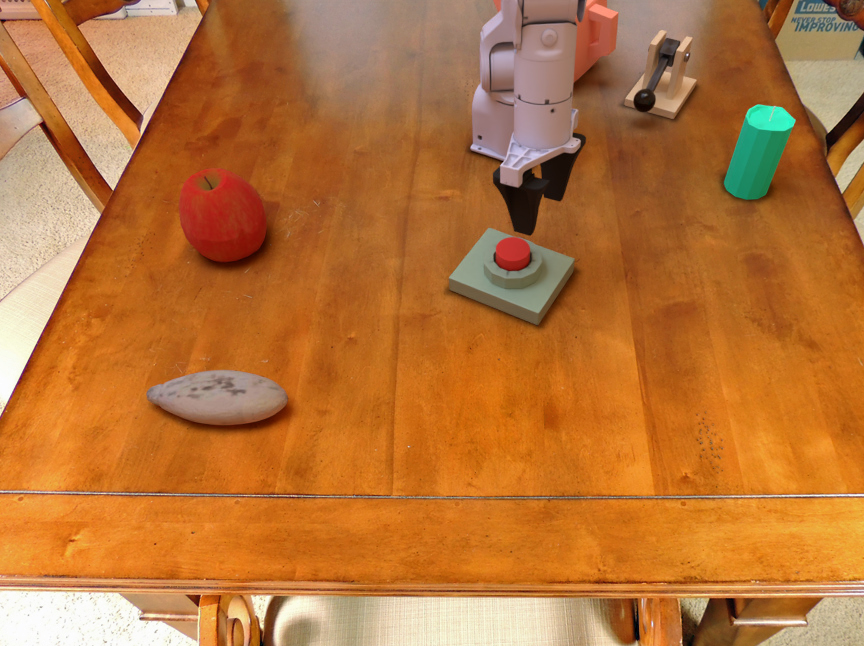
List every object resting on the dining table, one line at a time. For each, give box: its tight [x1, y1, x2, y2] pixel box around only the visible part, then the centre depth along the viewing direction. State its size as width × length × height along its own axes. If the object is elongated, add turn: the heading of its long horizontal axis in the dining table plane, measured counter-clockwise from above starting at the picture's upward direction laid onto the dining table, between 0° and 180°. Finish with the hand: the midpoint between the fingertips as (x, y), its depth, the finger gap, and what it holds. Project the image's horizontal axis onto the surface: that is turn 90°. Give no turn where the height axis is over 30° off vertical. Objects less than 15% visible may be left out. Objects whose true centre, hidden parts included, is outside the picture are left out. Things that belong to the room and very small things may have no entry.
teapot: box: [492, 0, 620, 83], centre depth 106 cm, size 22×13×14 cm, turn 56°
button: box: [496, 236, 530, 271], centre depth 80 cm, size 4×4×2 cm
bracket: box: [623, 29, 698, 120], centre depth 103 cm, size 10×8×9 cm
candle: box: [723, 104, 797, 201], centre depth 89 cm, size 6×6×12 cm
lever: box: [633, 37, 681, 113], centre depth 100 cm, size 12×3×3 cm, turn 151°
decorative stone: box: [146, 369, 289, 426], centre depth 72 cm, size 6×16×3 cm, turn 88°
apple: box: [178, 167, 268, 263], centre depth 84 cm, size 10×10×10 cm
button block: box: [448, 227, 576, 326], centre depth 82 cm, size 12×10×4 cm
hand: (538, 214), depth 76 cm, fingers open, 7 cm apart
